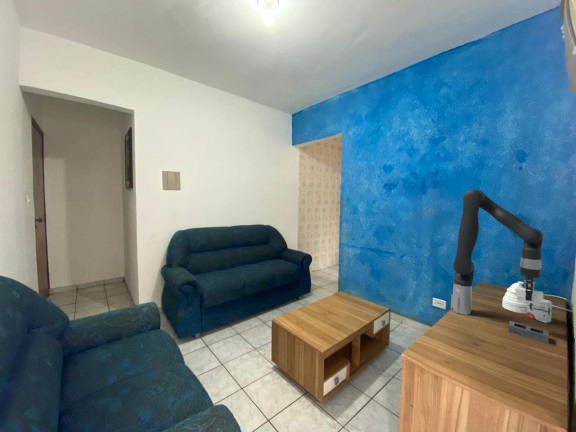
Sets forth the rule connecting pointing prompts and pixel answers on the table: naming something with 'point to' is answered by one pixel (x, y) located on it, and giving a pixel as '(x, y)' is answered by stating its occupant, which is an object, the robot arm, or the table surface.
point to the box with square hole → (529, 332)
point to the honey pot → (514, 300)
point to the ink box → (540, 311)
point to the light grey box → (536, 296)
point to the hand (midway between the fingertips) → (528, 299)
